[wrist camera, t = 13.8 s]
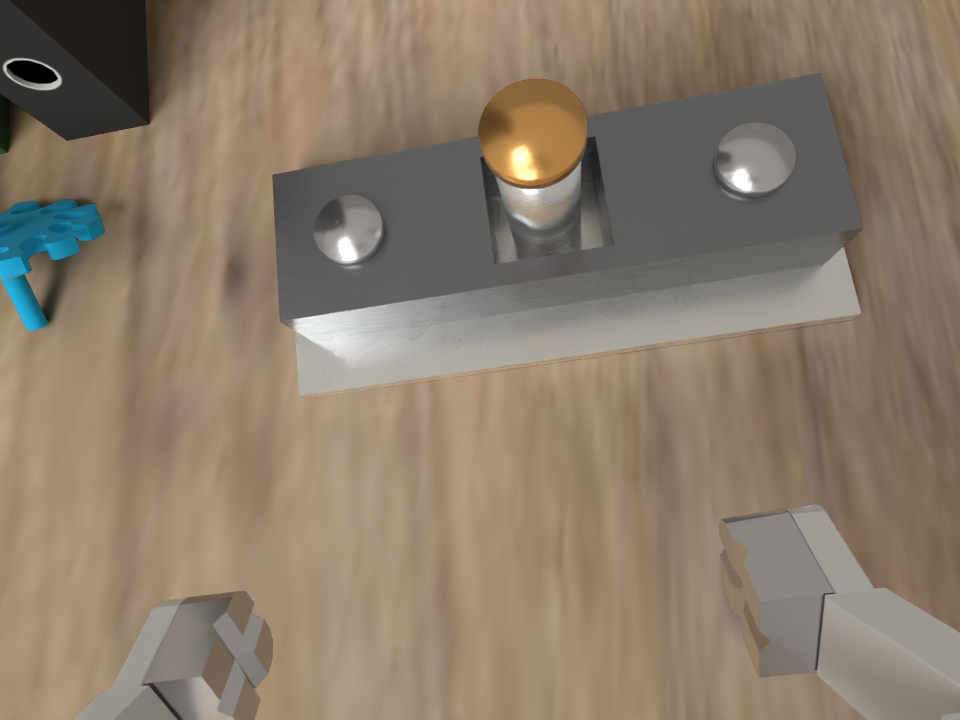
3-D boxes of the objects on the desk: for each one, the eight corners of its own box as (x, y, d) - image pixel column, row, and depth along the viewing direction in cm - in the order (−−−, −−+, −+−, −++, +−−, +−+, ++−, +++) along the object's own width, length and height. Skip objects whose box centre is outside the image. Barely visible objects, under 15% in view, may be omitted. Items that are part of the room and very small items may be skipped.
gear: (139, 192, 34) (-41, 271, 26) (174, 292, 37) (24, 389, 29) (-11, 185, 38) (-211, 253, 30) (33, 277, 41) (-136, 361, 33)
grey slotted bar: (792, 89, 32) (837, 6, 27) (851, 319, 29) (915, 279, 24) (294, 181, 35) (243, 122, 29) (307, 398, 32) (253, 378, 27)
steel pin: (598, 252, 31) (606, 147, 21) (529, 286, 31) (505, 197, 21) (565, 190, 31) (557, 61, 22) (498, 222, 32) (461, 109, 22)
